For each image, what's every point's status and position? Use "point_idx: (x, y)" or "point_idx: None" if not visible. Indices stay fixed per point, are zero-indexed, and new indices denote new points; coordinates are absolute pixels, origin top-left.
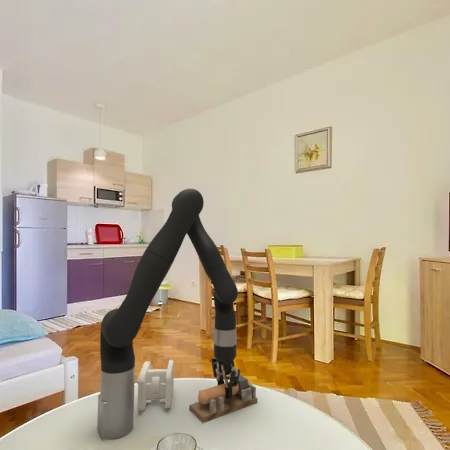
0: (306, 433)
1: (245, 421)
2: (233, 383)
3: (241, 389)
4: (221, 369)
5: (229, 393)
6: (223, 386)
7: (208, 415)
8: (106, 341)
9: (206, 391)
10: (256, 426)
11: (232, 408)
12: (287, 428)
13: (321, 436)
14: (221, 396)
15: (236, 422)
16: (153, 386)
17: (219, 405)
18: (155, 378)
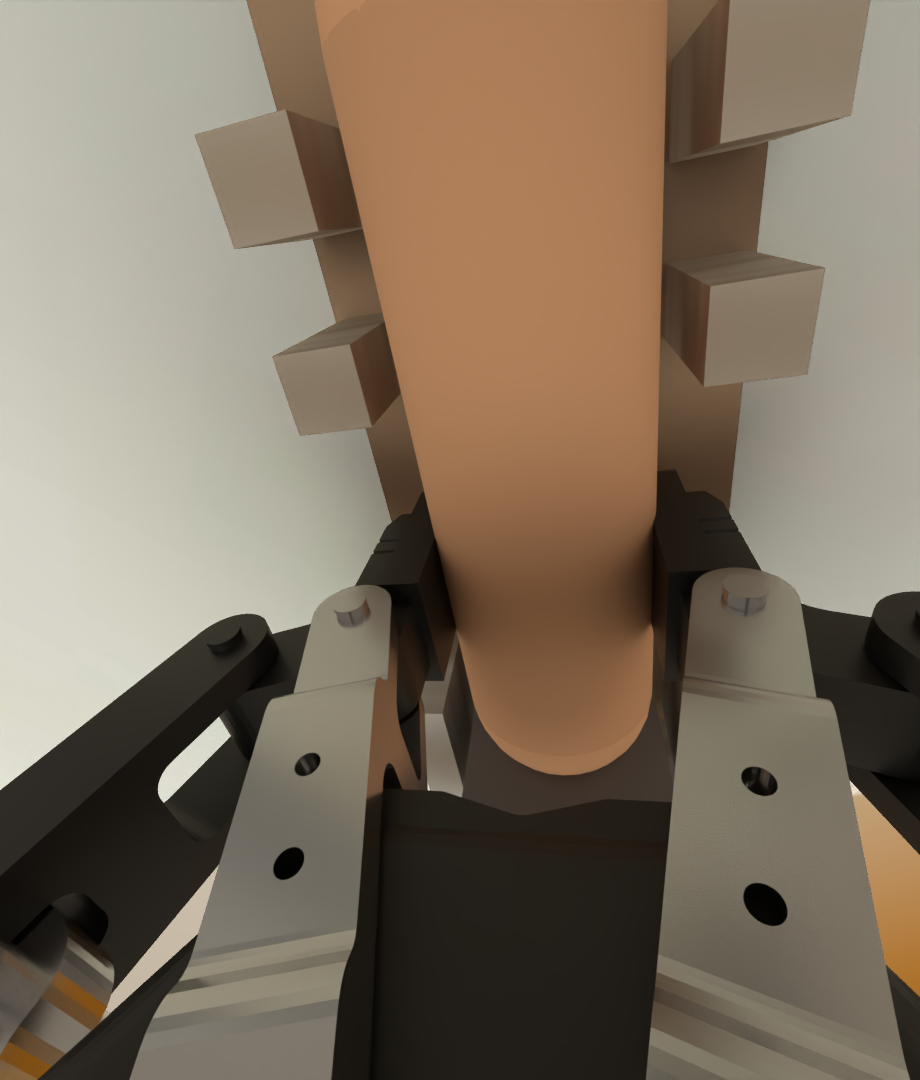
0: (60, 714)
1: (218, 498)
2: (226, 726)
3: (475, 725)
4: (561, 957)
5: (379, 563)
6: (486, 571)
7: (274, 72)
8: None
9: (395, 32)
10: (139, 535)
11: (390, 490)
12: (108, 674)
13: (38, 744)
14: (363, 419)
15: (214, 419)
16: None
17: (339, 328)
18: None
